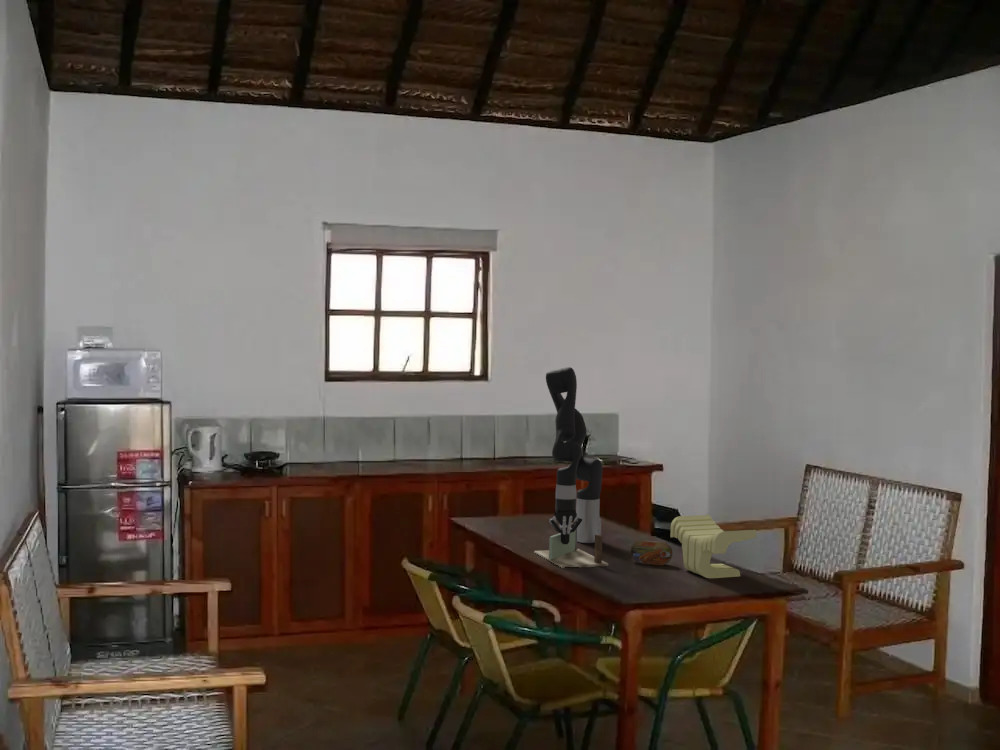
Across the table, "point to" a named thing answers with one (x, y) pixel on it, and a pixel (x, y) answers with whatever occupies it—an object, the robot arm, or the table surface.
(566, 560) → the gate frame
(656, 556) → the tin
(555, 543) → the gate
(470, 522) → the table surface
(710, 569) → the pale yellow c-shaped piece
